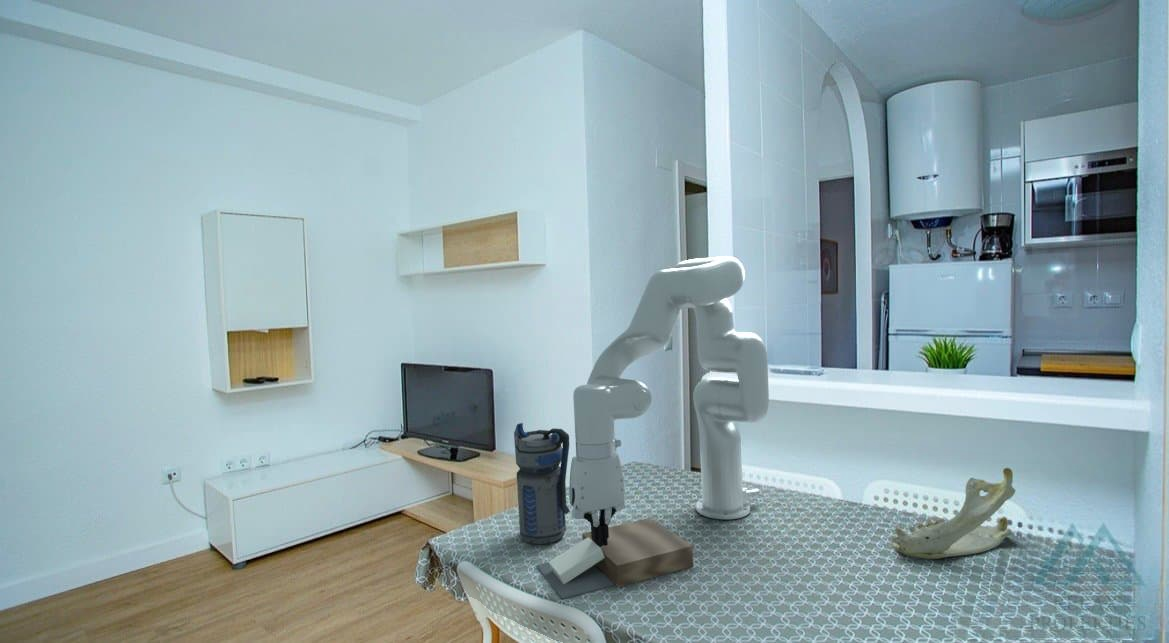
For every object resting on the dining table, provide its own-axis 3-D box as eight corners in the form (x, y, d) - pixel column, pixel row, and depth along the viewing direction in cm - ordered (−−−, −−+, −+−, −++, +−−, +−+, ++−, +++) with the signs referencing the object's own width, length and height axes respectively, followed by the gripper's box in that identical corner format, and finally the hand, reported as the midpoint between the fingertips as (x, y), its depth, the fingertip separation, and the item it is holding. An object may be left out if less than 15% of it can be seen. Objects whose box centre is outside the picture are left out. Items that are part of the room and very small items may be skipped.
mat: (583, 555, 117) (583, 553, 117) (613, 585, 104) (613, 583, 104) (536, 566, 113) (536, 565, 113) (562, 599, 100) (562, 597, 100)
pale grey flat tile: (591, 545, 114) (588, 537, 113) (604, 557, 108) (601, 548, 108) (552, 570, 111) (548, 561, 110) (563, 584, 105) (559, 575, 105)
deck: (650, 535, 125) (650, 517, 124) (693, 566, 110) (692, 545, 110) (583, 552, 118) (582, 533, 118) (618, 587, 104) (617, 565, 103)
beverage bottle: (562, 551, 119) (555, 432, 118) (508, 542, 125) (501, 428, 124) (583, 532, 128) (578, 421, 127) (533, 524, 134) (527, 418, 133)
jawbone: (905, 528, 103) (876, 488, 112) (903, 593, 111) (876, 552, 120) (1045, 496, 102) (1004, 459, 111) (1033, 564, 110) (995, 525, 119)
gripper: (621, 439, 117) (625, 528, 117) (552, 451, 111) (557, 544, 111) (639, 447, 110) (644, 542, 110) (566, 460, 104) (571, 560, 105)
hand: (600, 543), depth 111 cm, fingers closed
